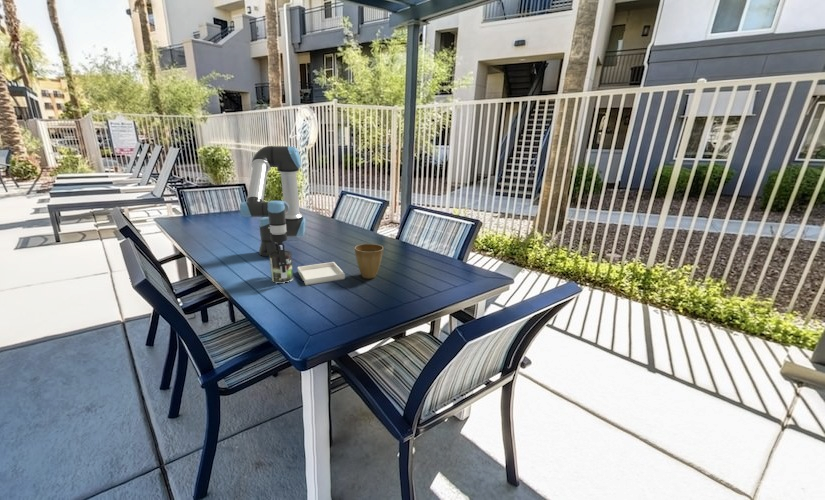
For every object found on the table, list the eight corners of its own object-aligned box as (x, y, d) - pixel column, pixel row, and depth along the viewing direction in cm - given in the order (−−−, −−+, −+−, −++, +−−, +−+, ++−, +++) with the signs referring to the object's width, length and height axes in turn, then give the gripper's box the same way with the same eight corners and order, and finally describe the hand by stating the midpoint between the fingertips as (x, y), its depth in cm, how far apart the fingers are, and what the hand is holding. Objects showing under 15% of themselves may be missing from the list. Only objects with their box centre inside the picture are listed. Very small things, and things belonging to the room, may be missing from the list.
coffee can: (297, 279, 174) (295, 253, 170) (279, 285, 166) (276, 258, 162) (285, 274, 180) (283, 249, 176) (267, 280, 172) (264, 253, 168)
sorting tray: (297, 272, 184) (297, 266, 183) (334, 266, 193) (334, 261, 192) (305, 285, 167) (305, 279, 166) (345, 279, 177) (345, 273, 176)
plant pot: (378, 282, 174) (378, 252, 169) (351, 279, 176) (350, 250, 171) (386, 272, 187) (386, 244, 183) (360, 269, 190) (360, 242, 185)
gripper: (267, 227, 175) (270, 266, 181) (273, 239, 154) (277, 283, 160) (282, 226, 178) (285, 264, 184) (291, 238, 157) (294, 280, 163)
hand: (282, 273), depth 172 cm, fingers open, 13 cm apart
